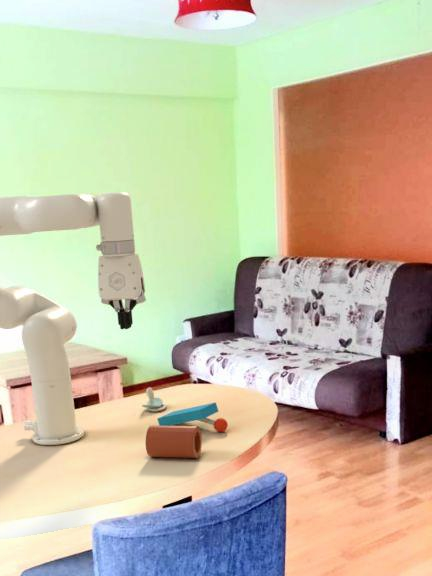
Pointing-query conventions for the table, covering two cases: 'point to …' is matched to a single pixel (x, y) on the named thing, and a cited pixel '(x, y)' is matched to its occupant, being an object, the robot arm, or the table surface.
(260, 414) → the table surface
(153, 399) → the pacifier
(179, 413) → the lever
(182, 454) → the jar
